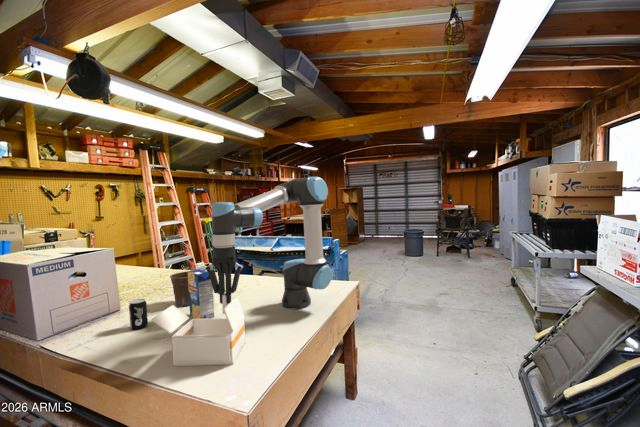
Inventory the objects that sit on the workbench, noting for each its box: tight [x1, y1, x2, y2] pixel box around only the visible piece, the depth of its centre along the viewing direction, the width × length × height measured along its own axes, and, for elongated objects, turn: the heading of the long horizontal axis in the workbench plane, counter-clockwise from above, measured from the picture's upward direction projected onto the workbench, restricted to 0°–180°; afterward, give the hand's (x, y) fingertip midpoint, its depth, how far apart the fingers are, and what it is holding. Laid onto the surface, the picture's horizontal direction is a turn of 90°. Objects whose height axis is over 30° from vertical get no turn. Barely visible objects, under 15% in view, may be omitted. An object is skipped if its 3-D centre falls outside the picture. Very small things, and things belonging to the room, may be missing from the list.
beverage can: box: [128, 298, 149, 331], centre depth 125 cm, size 7×7×12 cm
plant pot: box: [169, 270, 190, 307], centre depth 154 cm, size 16×16×16 cm
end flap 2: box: [222, 296, 245, 332], centre depth 99 cm, size 1×12×8 cm, turn 179°
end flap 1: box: [150, 304, 190, 335], centre depth 100 cm, size 1×12×8 cm
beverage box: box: [187, 268, 215, 319], centre depth 134 cm, size 7×11×22 cm, turn 48°
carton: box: [171, 316, 246, 367], centre depth 100 cm, size 20×16×10 cm
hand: (225, 312), depth 99 cm, fingers closed
